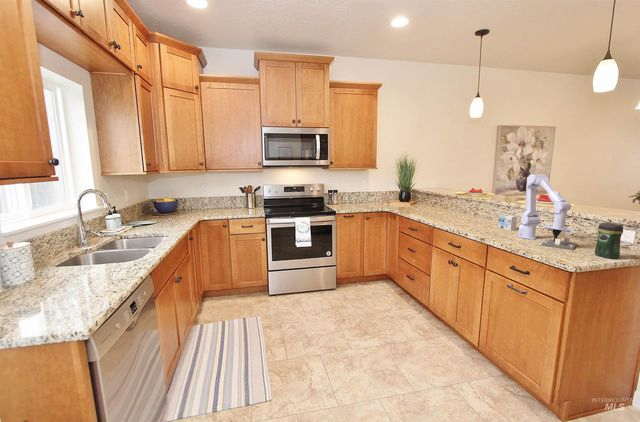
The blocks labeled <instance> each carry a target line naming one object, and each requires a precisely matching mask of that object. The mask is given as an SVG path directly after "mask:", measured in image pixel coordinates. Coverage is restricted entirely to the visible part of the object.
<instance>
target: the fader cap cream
mask: <svg viewBox="0 0 640 422" xmlns="http://www.w3.org/2000/svg"><path fill="white" fill-rule="evenodd" d="M561 241H562V238H559V237H557V239H555V244H557V245H560V243H561Z"/></svg>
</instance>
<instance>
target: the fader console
mask: <svg viewBox="0 0 640 422" xmlns="http://www.w3.org/2000/svg"><path fill="white" fill-rule="evenodd" d="M553 241H554V238H553V239H552V238H547V239H545V240H544V241H543V242H542V243H541V246H544V247H550V248H555V249H556V248H557V249H562V250H568V251H569V250H570V251H574V249H575V248H576V246H577V245H578V243H577V242H575V241H574V242H573V241H570V242H569V244H568V243H564V240H561V243H560V245H557V244H555V242H553Z"/></svg>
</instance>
